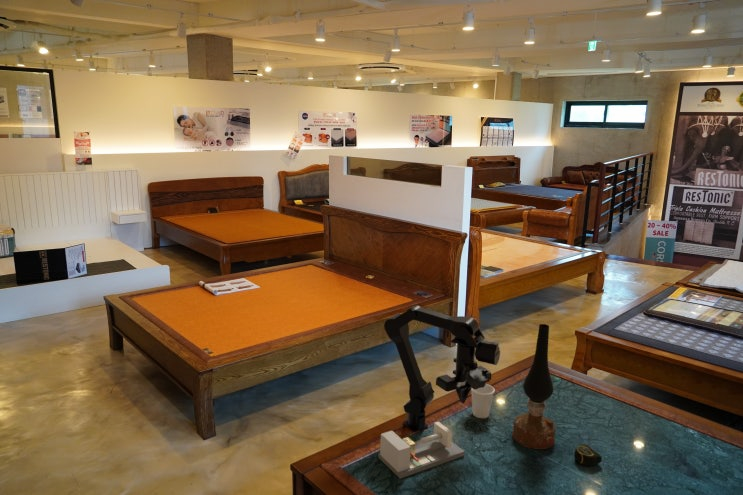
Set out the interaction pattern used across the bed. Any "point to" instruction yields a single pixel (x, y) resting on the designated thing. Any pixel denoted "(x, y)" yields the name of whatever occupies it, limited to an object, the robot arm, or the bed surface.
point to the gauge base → (428, 454)
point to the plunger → (439, 435)
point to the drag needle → (412, 445)
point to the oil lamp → (537, 400)
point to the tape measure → (587, 456)
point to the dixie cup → (482, 401)
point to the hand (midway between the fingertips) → (462, 402)
